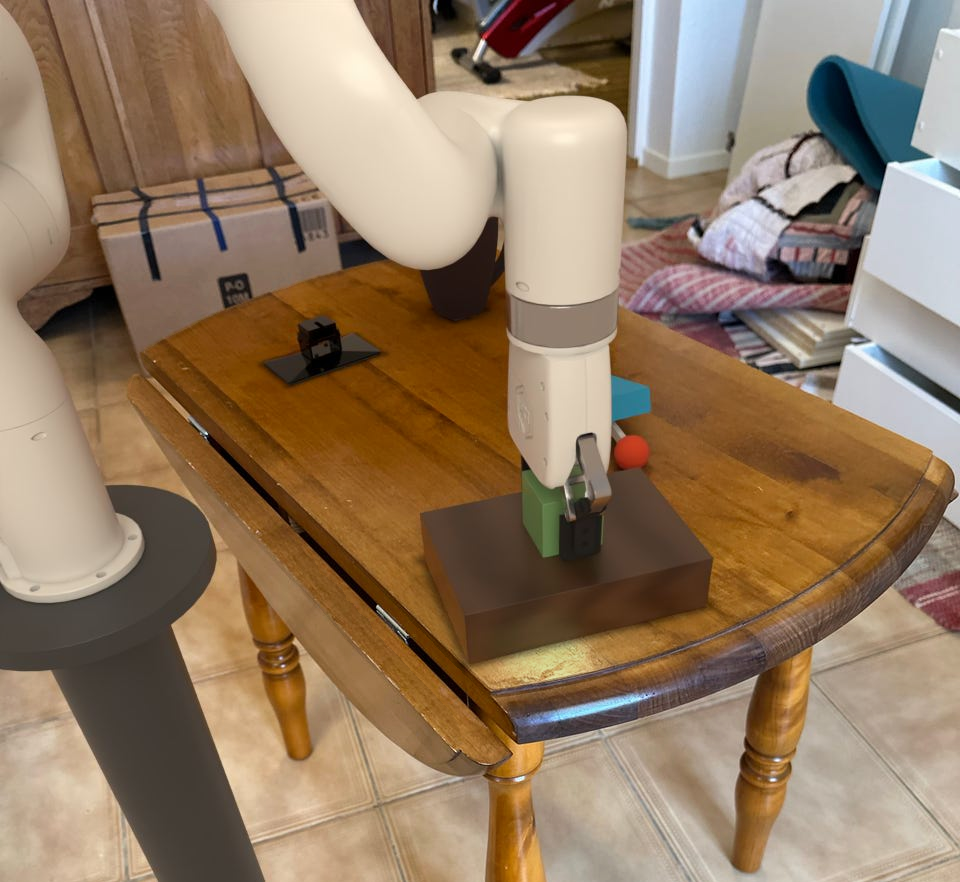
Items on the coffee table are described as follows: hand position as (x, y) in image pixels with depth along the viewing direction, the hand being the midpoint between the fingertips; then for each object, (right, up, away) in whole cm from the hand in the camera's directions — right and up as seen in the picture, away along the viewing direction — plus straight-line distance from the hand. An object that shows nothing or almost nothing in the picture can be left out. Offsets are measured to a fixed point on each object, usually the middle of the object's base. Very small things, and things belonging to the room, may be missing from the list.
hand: (559, 523), depth 74 cm
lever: (+6, +12, +22) cm, 26 cm away
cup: (-7, +34, +47) cm, 59 cm away
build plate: (-25, +24, +38) cm, 52 cm away
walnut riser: (0, -4, +4) cm, 6 cm away
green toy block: (0, -1, +1) cm, 1 cm away
